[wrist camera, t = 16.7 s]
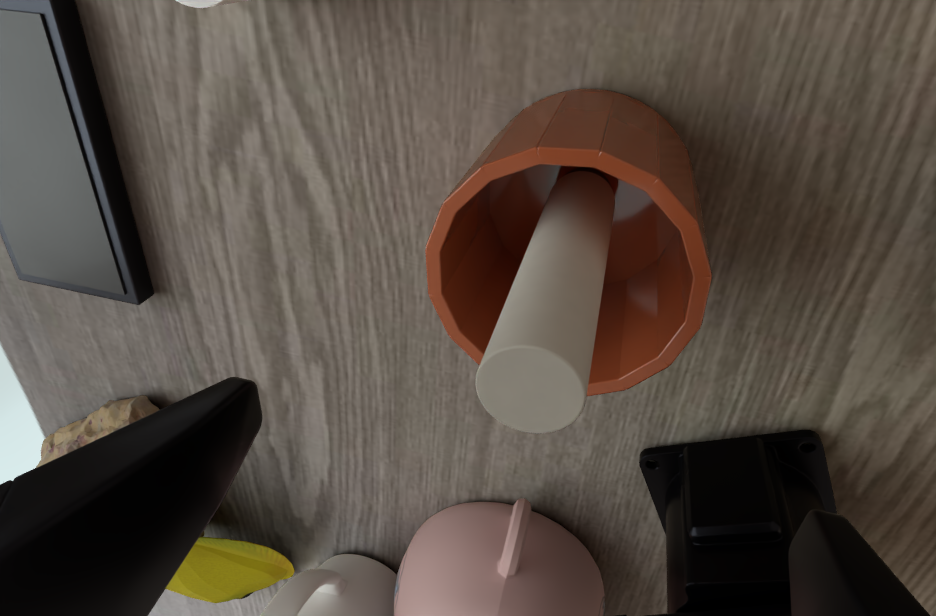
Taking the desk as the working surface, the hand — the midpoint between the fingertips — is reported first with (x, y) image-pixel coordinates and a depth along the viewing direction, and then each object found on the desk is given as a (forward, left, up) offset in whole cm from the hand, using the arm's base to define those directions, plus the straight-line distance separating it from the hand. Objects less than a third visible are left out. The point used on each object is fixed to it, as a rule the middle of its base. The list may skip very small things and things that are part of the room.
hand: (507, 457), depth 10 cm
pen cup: (0, 0, -12) cm, 12 cm away
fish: (-11, +30, -8) cm, 34 cm away
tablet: (+8, +20, -12) cm, 24 cm away
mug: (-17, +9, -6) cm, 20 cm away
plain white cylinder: (0, 0, -11) cm, 11 cm away
